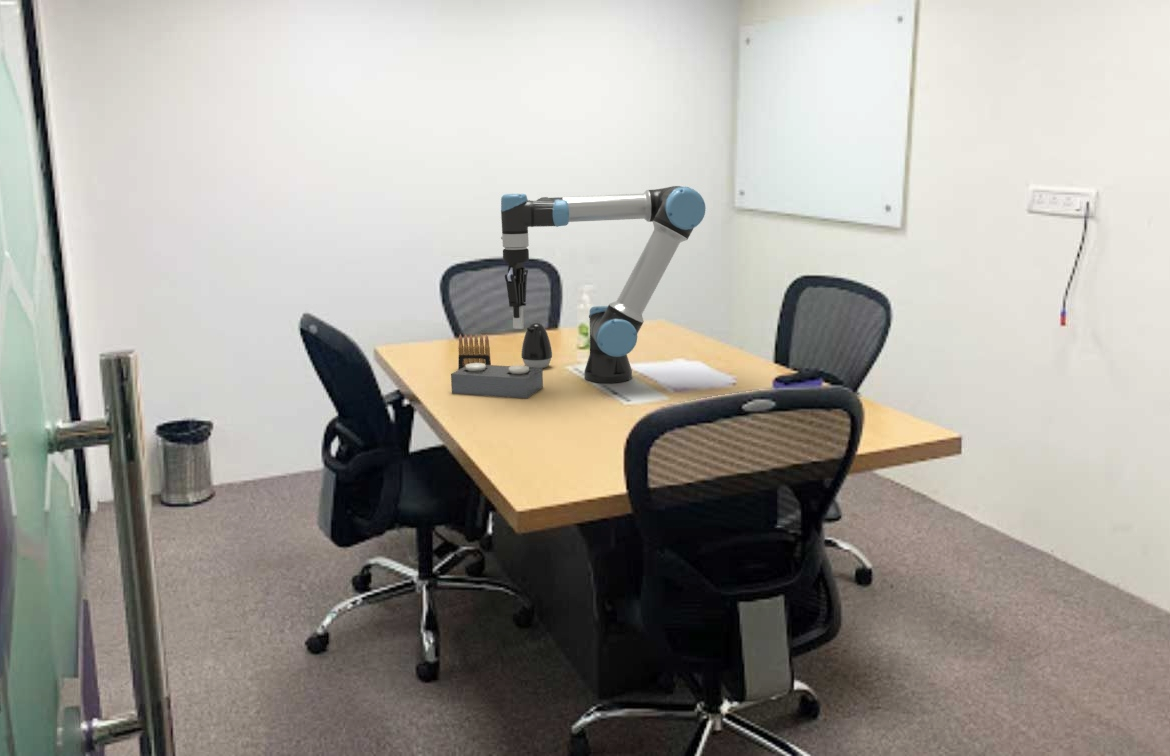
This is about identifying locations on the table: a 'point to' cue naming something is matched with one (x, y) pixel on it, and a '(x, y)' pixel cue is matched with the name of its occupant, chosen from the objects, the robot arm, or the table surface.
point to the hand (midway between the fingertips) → (518, 328)
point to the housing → (497, 382)
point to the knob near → (519, 370)
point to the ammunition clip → (473, 351)
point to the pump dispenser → (536, 347)
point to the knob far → (475, 367)
